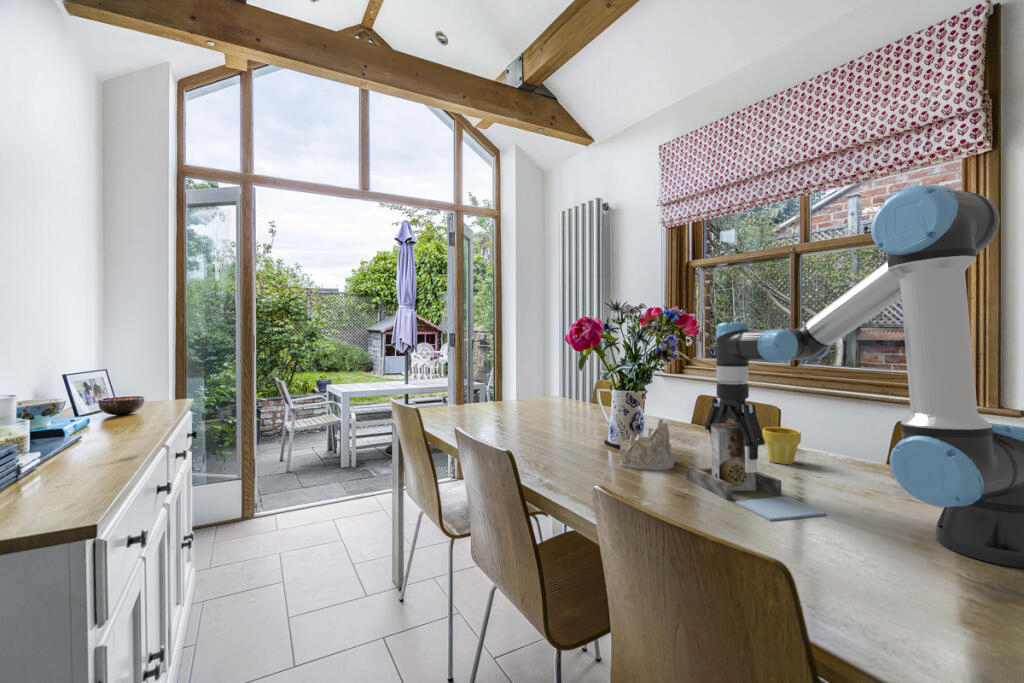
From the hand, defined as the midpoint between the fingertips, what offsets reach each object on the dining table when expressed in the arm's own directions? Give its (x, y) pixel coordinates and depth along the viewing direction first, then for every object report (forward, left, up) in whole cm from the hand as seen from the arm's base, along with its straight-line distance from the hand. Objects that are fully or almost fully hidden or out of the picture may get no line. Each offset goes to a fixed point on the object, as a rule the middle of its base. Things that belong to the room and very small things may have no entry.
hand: (732, 464), depth 124 cm
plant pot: (+18, -30, -6) cm, 35 cm away
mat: (-16, 0, -6) cm, 17 cm away
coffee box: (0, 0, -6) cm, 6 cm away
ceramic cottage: (+27, +10, -6) cm, 29 cm away
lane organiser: (0, 0, -6) cm, 6 cm away
